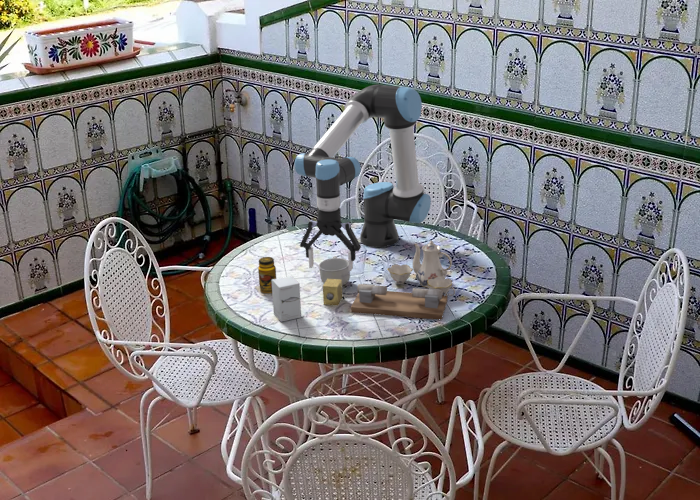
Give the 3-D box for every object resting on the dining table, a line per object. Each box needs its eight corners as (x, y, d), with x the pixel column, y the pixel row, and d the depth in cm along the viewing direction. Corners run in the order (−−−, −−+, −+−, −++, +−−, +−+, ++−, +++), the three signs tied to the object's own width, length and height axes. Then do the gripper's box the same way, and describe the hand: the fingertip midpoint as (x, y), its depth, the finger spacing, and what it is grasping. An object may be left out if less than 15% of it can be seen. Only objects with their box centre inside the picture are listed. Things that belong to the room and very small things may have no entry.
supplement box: (280, 322, 273) (278, 287, 268) (273, 313, 279) (270, 278, 274) (302, 318, 275) (299, 283, 271) (294, 308, 282) (292, 274, 277)
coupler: (323, 305, 283) (322, 287, 281) (329, 296, 290) (328, 277, 287) (337, 306, 282) (336, 288, 279) (343, 297, 289) (342, 278, 286)
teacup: (346, 291, 293) (346, 270, 290) (316, 289, 295) (315, 268, 292) (354, 274, 305) (353, 254, 302) (325, 273, 307) (324, 253, 304)
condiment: (262, 296, 291) (259, 264, 287) (254, 287, 299) (251, 256, 294) (282, 291, 294) (280, 260, 290) (273, 282, 301) (271, 252, 297)
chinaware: (380, 288, 298) (376, 247, 290) (406, 267, 309) (403, 227, 302) (448, 308, 282) (446, 264, 274) (473, 285, 293) (472, 243, 286)
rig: (360, 294, 290) (360, 275, 288) (447, 301, 283) (447, 282, 281) (350, 312, 278) (350, 293, 275) (441, 320, 271) (441, 300, 268)
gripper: (288, 209, 272) (292, 269, 280) (363, 213, 267) (364, 275, 275) (295, 201, 279) (298, 260, 287) (368, 206, 273) (370, 266, 281)
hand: (331, 268), depth 281 cm, fingers open, 13 cm apart
